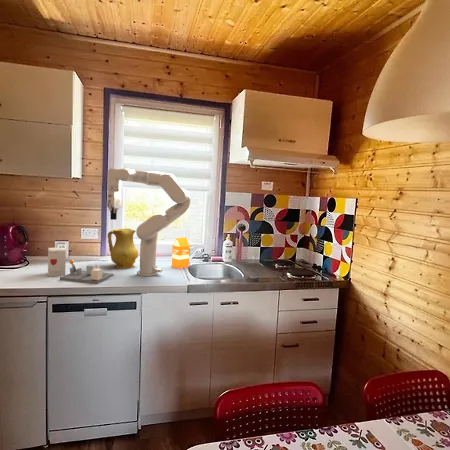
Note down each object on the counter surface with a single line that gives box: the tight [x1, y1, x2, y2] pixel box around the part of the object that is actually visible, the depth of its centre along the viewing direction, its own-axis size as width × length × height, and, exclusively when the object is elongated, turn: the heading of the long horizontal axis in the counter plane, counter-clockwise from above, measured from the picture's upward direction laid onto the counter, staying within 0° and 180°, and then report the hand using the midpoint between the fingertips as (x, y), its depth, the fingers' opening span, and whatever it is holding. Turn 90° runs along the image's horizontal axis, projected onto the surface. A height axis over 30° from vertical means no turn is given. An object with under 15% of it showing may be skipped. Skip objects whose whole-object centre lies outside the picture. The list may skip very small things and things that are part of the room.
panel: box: [59, 266, 115, 285], centre depth 193 cm, size 22×18×5 cm
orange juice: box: [171, 236, 190, 269], centre depth 232 cm, size 8×9×20 cm
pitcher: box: [107, 228, 139, 269], centre depth 225 cm, size 17×19×25 cm
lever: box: [69, 259, 77, 273], centre depth 192 cm, size 2×2×9 cm
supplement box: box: [47, 247, 67, 277], centre depth 197 cm, size 9×9×15 cm
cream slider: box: [91, 268, 103, 280], centre depth 186 cm, size 4×4×5 cm
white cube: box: [85, 263, 98, 275], centre depth 196 cm, size 4×4×5 cm
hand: (113, 219), depth 208 cm, fingers closed
